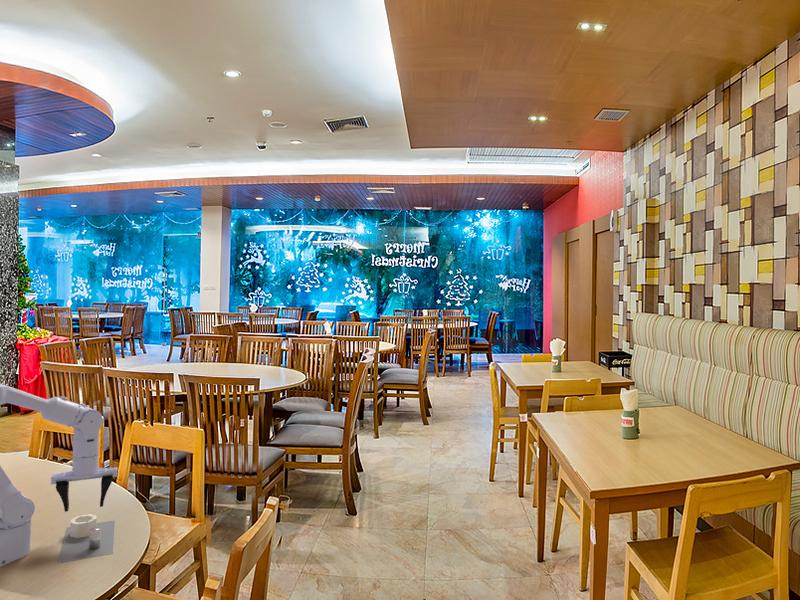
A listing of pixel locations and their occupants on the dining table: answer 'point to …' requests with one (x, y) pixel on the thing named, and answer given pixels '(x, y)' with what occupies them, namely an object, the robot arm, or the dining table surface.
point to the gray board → (87, 544)
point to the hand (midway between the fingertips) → (84, 507)
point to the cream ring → (82, 525)
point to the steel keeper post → (94, 538)
